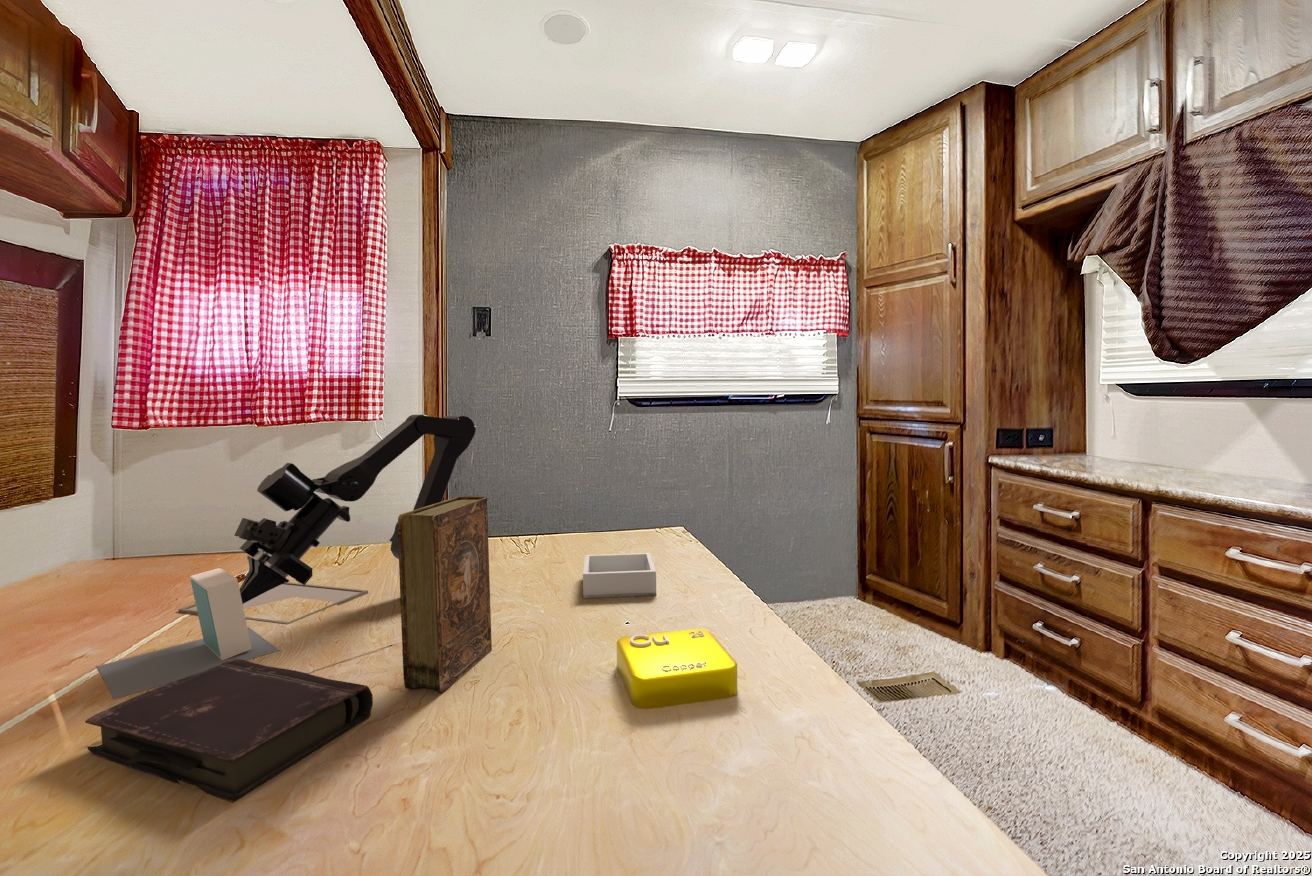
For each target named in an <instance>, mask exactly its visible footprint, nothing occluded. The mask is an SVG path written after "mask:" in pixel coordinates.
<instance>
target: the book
mask: <svg viewBox="0 0 1312 876" xmlns="http://www.w3.org/2000/svg"><path fill="white" fill-rule="evenodd" d="M488 520H489V519H488V498H487V496H478V495H477V496H475V495H474V496H473V495H470V496H468V495H467V496H456V497H452V498H448V499H445V500H442V502H439V503H435V504H432V505H429V506H426V507H422V508H419V509H416V510H410V511H407V512H403V513H400V514H399V515H398V517H397V522H398V549H399V559H398V569H399V590H400V591H399V596H400V599H399V600H400V621H401V622H400V623H401V626H400V627H401V644H402V646H401V647H402V648H401V649H402V673H403V684H404V688H405V689H407V690H412V689H418V688H419V689H420V688H428V689H434V690H436V691H438V692H439V693H444V692H446V691H447V690H448V689H449V688H450V687H451V686H452V685H454V684H455V683H456V682H457V681H459V680H460V679H461V678H462V677H463V676H464V675H466V674H467V673H468V672H469V671H471V669H472V668H473V667H474V666H476V665H477V664H478V663H479V662H480V661H481V660H482V659H483V658H485V657H486V656H487V655H488V654H489V653H490V652H492V651H493V649H492V646H493V645H492V619H491V618H492V617H491V616H492V613H491V611H492V610H491V587H490V586H491V585H490V581H491V580H490V557H489V556H490V554H489V553H490V552H489V551H490V550H489V523H488Z"/></svg>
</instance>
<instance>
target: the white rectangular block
mask: <svg viewBox="0 0 1312 876" xmlns="http://www.w3.org/2000/svg"><path fill="white" fill-rule="evenodd" d="M189 577H190V584H191V588H192V592H193V593H192V594H193V597H194V598H193V599H194V602H195V603H194V604H196V607H197V612H198V620H199V625H200V631H201V634H202V639H203V640H204V643H205V645H207V646H208V647H209V648H210V649H211V650H212V651H213V652H214V653H215V654H216V655H217V656H218V657H219V658H220V659H221V660H224V659H227V658H230V657H232V656H235V655H237V654H240V653H243V652H245V651H248V650H251V649H252V648H251V643H250V638H249V633H248V628H247V627H248V626H247V625H248V624H247V619H245V617H246V614H245V609H243V604H242V599H241V594H240V586H239V585H240V584H239V581H238V580H239V579H238V578H237V577H235V576H234V575H232V574H230V573H229V572H227V571H225V570H224V569H222V568H221V567H218V568H214V569H210V570H206V571H203V572H199V573H196V574H193V575H190V576H189Z"/></svg>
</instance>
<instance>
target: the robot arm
mask: <svg viewBox="0 0 1312 876" xmlns="http://www.w3.org/2000/svg"><path fill="white" fill-rule="evenodd" d="M476 430H477V429H476V425H475V424H474V421H473V420H472V419H471V418H470V417H468V416H465V415H445V416H443V417H438V416H437V417H436V416H429V415H427V414H411V415H409V416H407V417H406V419H405V420H404V421H403V422H402V423H401V424H399V425H398V426H397V427H396V428H394V430H392V431H391V432H389V433H388V434H387V435H386V436H385V437H383V438H382V439H381V440H380V441H379V442H377V443H376V444H375V445H374V446H372V447H371V448H369V450H367V451H366V452H365V453H364V454H362V455H360V456H358V457H357V458H355V459H351V460H349V461H347V462H345V463H343V464H342V465H341V464H340V466H337V467H336V468H334V469H332V470H330V471H329V472H328V473H327V474H326V475H325V476H324V477H318V478H312V479H311V478H310V477H308V476H307V475H306V474H305V473H303V472H302V471H301V470H300V469H299V468H298V467H297V466H296V464H294V463H292V462H286V463H285V464H284V465H283V466H282V467H280V468H278V469H277V470H275V471H273V472H272V473H271V474H268V475H267V476H266V477H265V478H264V479H263V480H262V481H261V482H260V484H259V485H258V487H257V490H256V492H258V493H259V494H261V496H263V497H265V498H266V499H267V500H268V501H270V502H272V504H274V505H275V506H277V507H278V508H280V509H282V510H283V511H284V512H289V511H292V510H293V511H294V512H295V511H297V512H296V513H295V514H294V515H293V516H292V517H291V518H290V519H289V520H288V521H287V520H282V521H280V522H279V523H278V524H277V521H275V520H272V519H268V518H265V517H264V518H262V519H260V521H258V520H254V519H250V518H246V517H242V518H241V521H240V522H239V525H237V526H238V527H237V529H236V531H235V533H234V536H235V537H238V538H239V539H242V540H244V541H245V542H243V544H242V545H241V546H240V547H239V550H241V551H242V552H244V553H245V554H247V557H246V558H247V559H246V560H247V561H248V566H249V568H248V569H249V570H248V571H247V574H246V576H245V578H244V580H243V582H242V583H241V586H239V589H240V594H241V599H242V604H244V603H246V602H248V601H249V600H251V599H253V598H255V597H257V596H259V595H261V594H263V593H265V592H267V591H269V590H271V589H273V588H275V587H277V586H279V585H281V584H283V583H288V582H290V580H289V579H288V576H290V578H292V579H294V580H295V581H296V583H301V584H303V585H305V584H308V582H309V580H311V578H312V577H313V576H314V575H313V568H312V567H311V566H309V565H308V564H307V563H305V562H303V561H302V560H301V559H302V558H303V556H304V555H305V554H307V552H308V551H309V550H310V549H311V548H312V547H313V548H314V547H315V548H317V547H318V546H319V545H320V543H321V542H320V541H319V539H320V537H322V536H323V535H324V533H325V532H326V531H327V529H329V527H331V525H332V524H334V522H335V521H336V519H338V520H339V521H344V522H347V523H349V522H350V521H351V515H350V506H347V505H342V506H341V505H339V504H338V503H336V501H334V500H338V501H339V500H340V501H342V502H343V501H344V502H356V501H358V500H360V499H362V497H363V496H365V495H366V493H367V492H368V491H369V490H370V488H371V487H372V486H373V485H374V483H375V481H376V479H377V477H378V475H379V474H380V473H381V472H382V471H383V470H384V469H385V468H387V466H389V465H390V464H391V463H392V462H393V461H394V460H395V459H397V458H398V457H399V456H401V455H402V454H403V453H404V452H405V451H406V450H407V449H409V448H410V447H412V445H414V443H416V442H417V441H418V440H419V439H421V437H423V436H424V435H428V436H430V435H431V436H433V449H434V454H433V455H432V458H431V462H430V463H429V467H428V470H427V472H426V474H425V476H424V477H425V478H424V480H423V483H422V486H421V488H420V490H419V494H418V495H417V499H416V501H415V504H414V506H413V510H416V509H419V508H422V507H426V506H429V505H432V504H435V503H439V502H442V501H443V499H444V496H445V494H446V491H447V488H448V486H449V483H450V480H451V477H452V476H453V475H452V474H453V471H454V469H455V467H456V463H457V460H458V459H459V458H460V456H462V454H463V453H464V452H465V451H466V450H467V449H468V447H469V446H470V445H471V443H472V441H473V439H474V437H475V435H476V432H477V431H476ZM315 492H316V493H320V494H323V495H324V494H325V495H327V496H328V497H325V498H322V497H321V496H319V495H318V494H316V493H315ZM331 498H332V499H331ZM333 499H334V500H333ZM413 510H412V511H413ZM389 542H391V545H390V551H391V553H392V556H393V557H395V559H397V560H399V549H398V521H397V522H396V524H395V527H394V532H393V534H392V536H391V537H390V539H389Z"/></svg>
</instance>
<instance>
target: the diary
mask: <svg viewBox="0 0 1312 876" xmlns="http://www.w3.org/2000/svg"><path fill="white" fill-rule="evenodd" d="M373 704H374V699H373V693H372V690H371V689H370V687H369V686H368V685H365V684H359V683H354V682H348V681H342V680H338V679H337V680H336V679H330V678H325V677H322V676H318V675H314V674H312V673H306V672H302V671H299V670H295V669H287V668H283V667H275V666H270V665H269V666H268V665H263V664H262V663H257V662H253V661H249V660H242V659H238V658H234V659H231V660H229V661H226V662H224V663H222V664H221V665H217V666H214V667H212V668H209V669H207V670H204V671H202V672H199V673H196V674H193V675H190V676H187V677H185V678H182V679H179V680H176V681H173V682H170V683H168V684H165V685H162V686H158V687H155V688H152V689H149V690H148V691H146V692H143V693H141V694H139V695H136V696H134V697H131V698H129V699H126V700H125V701H122V702H119V703H118V704H116V705H113V706H111V707H109V708H106V709H104V710H103V711H100V712H98V713H95V714H93V715H92V716H90V717H89V718H87V719H86V720H84V722H85V723H86V724H89V725H91V726H97V727H100V732H101V735H100V736H101V744H99V745H96V746H88V747H87V748H86V749H87V750H88V751H89V752H90V753H91V754H92V755H93V756H95V757H99V758H101V759H104V760H107V761H110V762H113V763H114V764H117V765H120V764H121V765H120V766H123V767H127V768H130V769H132V768H133V770H137V771H138V772H139V771H140V772H143V773H147V774H149V775H154V776H156V777H158V778H160V779H163V780H165V781H168V782H170V783H174V784H177V785H181V783H180V782H183V783H186V784H189V785H193V786H195V787H197V788H198V789H199V790H201V791H202V792H204V793H205V794H208V795H210V796H212V797H215V798H219V799H221V800H224V801H227V802H230V803H232V804H234V803H236V802H237V801H238V800H240V799H242V798H243V797H245V796H246V795H248V794H250V793H251V792H253V791H254V790H256V789H257V788H259V787H261V786H262V785H265V784H266V783H267V782H269V781H270V780H272V779H274V778H276V776H279V775H280V774H282V773H283V772H285V771H286V770H288V769H289V768H291V767H293V766H295V765H296V764H298V763H299V762H300V761H302V760H304V759H306V758H308V757H309V756H310V755H312V754H314V753H315V752H316V751H319V750H320V749H322V748H323V747H324V746H326V745H328V744H330V743H331V742H332V741H334V740H335V739H337V738H339V737H340V736H343V735H344V734H346V733H347V732H348V731H350V730H352V729H353V728H355V727H356V726H358V725H360V724H361V723H363V722H365V721H366V720H368V719H369V718H370V716H371V713H372V709H373ZM179 781H180V782H179Z"/></svg>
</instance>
